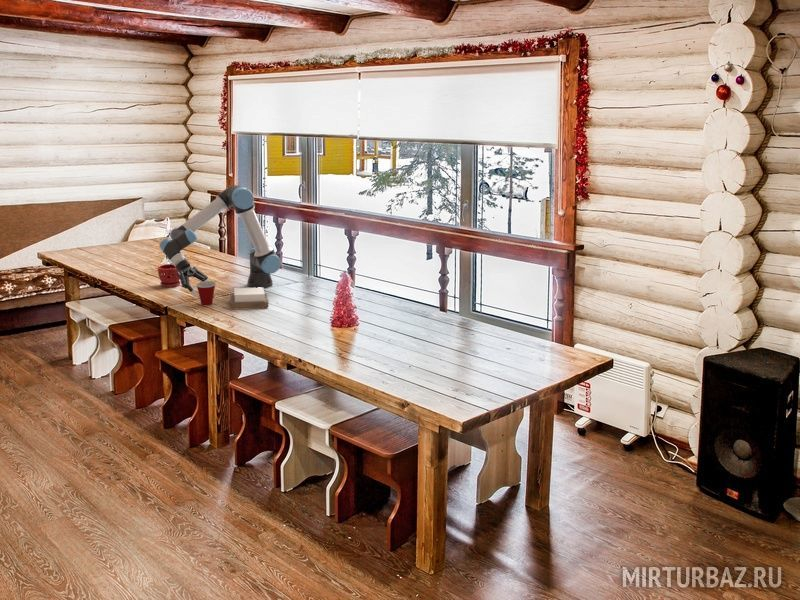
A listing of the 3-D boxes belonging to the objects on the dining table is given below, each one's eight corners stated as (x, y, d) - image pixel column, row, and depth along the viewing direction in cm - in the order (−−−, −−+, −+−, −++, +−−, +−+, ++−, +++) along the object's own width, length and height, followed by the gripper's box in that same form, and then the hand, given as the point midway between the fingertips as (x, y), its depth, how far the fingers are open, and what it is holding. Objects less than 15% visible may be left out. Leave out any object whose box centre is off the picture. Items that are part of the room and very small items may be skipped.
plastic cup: (192, 305, 437) (191, 284, 434) (202, 301, 447) (202, 280, 444) (210, 307, 434) (209, 286, 431) (220, 303, 444) (219, 282, 441)
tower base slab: (230, 301, 452) (230, 294, 451) (266, 300, 456) (266, 293, 455) (231, 310, 433) (230, 303, 432) (268, 309, 437) (268, 302, 436)
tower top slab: (234, 295, 449) (234, 288, 448) (263, 294, 453) (263, 287, 452) (234, 302, 434) (234, 294, 433) (264, 301, 437) (264, 294, 436)
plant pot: (159, 283, 486) (159, 264, 483) (182, 283, 488) (181, 263, 485) (157, 288, 474) (156, 268, 471) (180, 288, 476) (179, 268, 473)
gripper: (191, 263, 453) (213, 292, 451) (162, 271, 431) (185, 301, 429) (198, 255, 450) (221, 284, 448) (169, 262, 427) (193, 293, 426)
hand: (204, 292), depth 438 cm, fingers open, 13 cm apart
